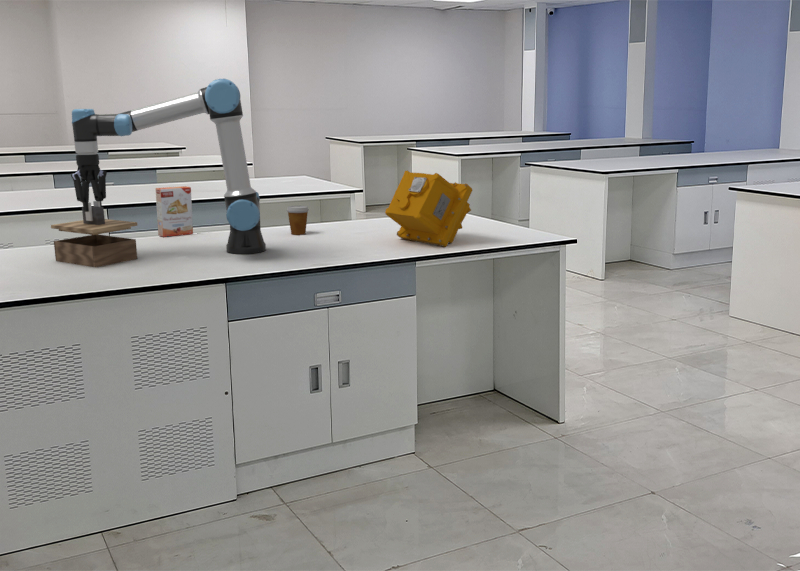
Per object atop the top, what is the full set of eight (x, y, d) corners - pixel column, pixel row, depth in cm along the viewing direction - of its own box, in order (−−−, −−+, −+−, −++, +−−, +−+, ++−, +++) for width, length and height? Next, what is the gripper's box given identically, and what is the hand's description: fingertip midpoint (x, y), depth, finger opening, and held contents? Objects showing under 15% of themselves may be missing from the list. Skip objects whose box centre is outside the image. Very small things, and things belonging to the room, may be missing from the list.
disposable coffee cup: (313, 233, 344) (313, 206, 341) (299, 236, 336) (299, 208, 333) (297, 231, 349) (296, 204, 346) (283, 234, 341) (282, 207, 338)
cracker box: (163, 237, 334) (160, 188, 329) (158, 235, 338) (154, 187, 333) (194, 234, 342) (191, 186, 338) (188, 232, 347) (185, 185, 342)
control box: (458, 257, 316) (413, 222, 297) (413, 248, 336) (368, 215, 317) (485, 198, 321) (442, 160, 301) (439, 193, 341) (396, 157, 321)
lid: (137, 228, 281) (135, 205, 280) (93, 236, 266) (90, 212, 264) (96, 223, 293) (94, 202, 291) (51, 231, 278) (48, 208, 276)
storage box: (137, 260, 284) (135, 239, 282) (95, 269, 269) (93, 246, 267) (98, 255, 295) (96, 234, 293) (55, 263, 280) (53, 241, 279)
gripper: (99, 152, 282) (105, 216, 287) (60, 154, 269) (67, 222, 274) (113, 152, 278) (119, 217, 283) (73, 155, 265) (81, 223, 270)
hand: (93, 219), depth 279 cm, fingers closed on lid, 3 cm apart
